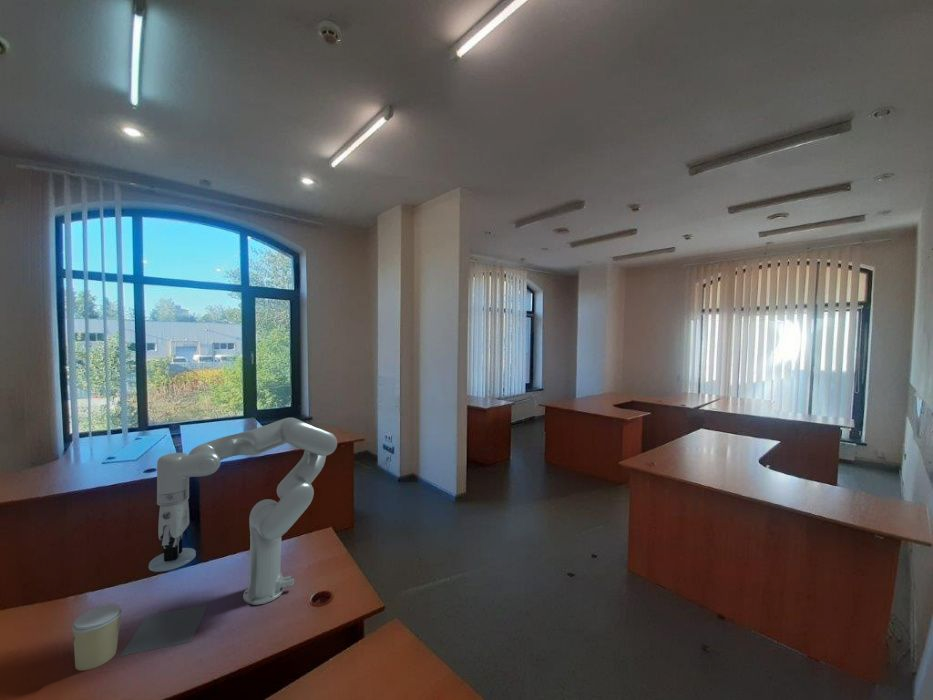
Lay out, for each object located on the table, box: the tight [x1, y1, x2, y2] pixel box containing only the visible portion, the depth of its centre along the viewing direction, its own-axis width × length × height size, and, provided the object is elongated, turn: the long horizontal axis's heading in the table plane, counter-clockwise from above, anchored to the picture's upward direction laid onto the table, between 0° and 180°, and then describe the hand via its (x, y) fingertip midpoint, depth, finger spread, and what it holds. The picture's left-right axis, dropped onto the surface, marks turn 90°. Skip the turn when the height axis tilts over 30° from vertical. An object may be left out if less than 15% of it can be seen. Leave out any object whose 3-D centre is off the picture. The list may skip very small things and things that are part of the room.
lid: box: [148, 535, 197, 573], centre depth 110 cm, size 11×11×8 cm
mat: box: [119, 604, 209, 657], centre depth 110 cm, size 16×16×1 cm
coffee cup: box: [71, 603, 123, 671], centre depth 99 cm, size 9×9×12 cm
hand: (173, 556), depth 110 cm, fingers closed on lid, 2 cm apart
